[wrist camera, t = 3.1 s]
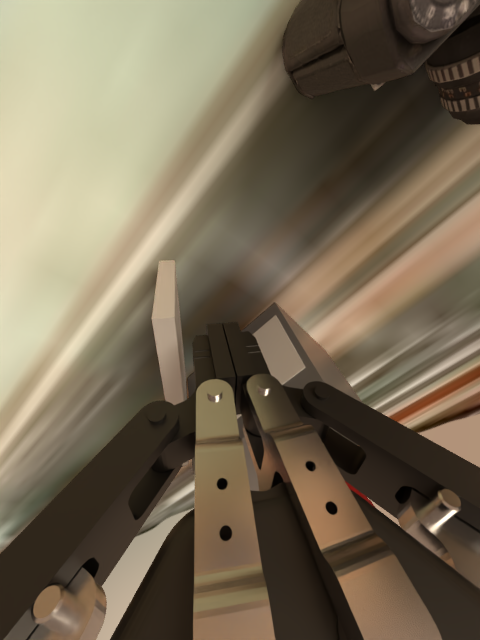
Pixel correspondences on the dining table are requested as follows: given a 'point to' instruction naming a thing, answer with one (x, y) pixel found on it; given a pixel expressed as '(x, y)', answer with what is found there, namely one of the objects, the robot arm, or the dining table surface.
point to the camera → (387, 47)
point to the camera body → (287, 364)
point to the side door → (169, 334)
